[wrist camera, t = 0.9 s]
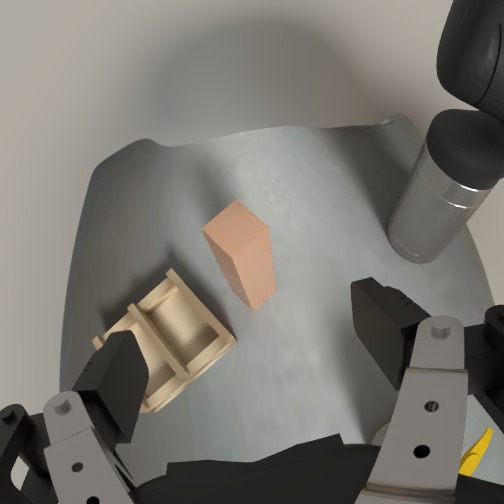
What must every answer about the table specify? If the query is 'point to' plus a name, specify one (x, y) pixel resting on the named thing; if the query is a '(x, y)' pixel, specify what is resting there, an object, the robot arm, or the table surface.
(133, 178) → the table surface
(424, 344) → the robot arm
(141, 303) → the rack
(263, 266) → the clay bar
